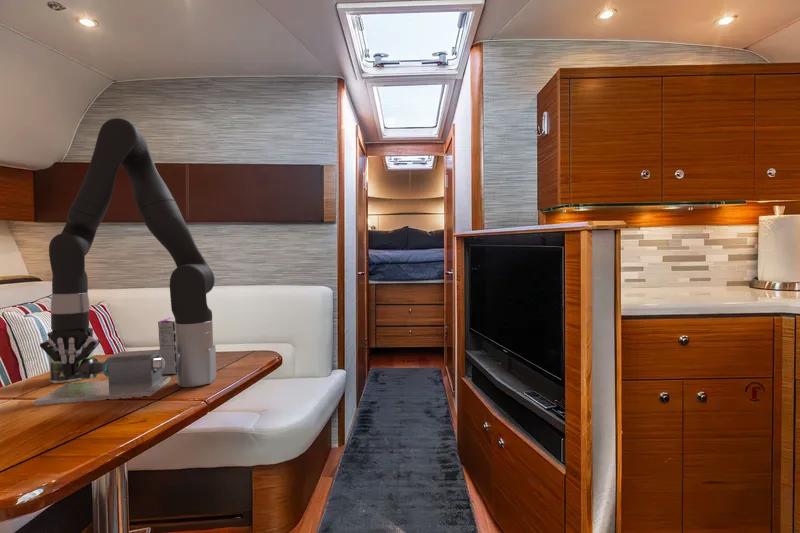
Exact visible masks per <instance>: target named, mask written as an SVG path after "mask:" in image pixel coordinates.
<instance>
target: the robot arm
mask: <svg viewBox="0 0 800 533" xmlns="http://www.w3.org/2000/svg"><path fill="white" fill-rule="evenodd" d="M147 142H148V141H147V140H146V138H145V137H144V135H143V134H142V133H141V131H140V130H139V129H138V128H137V127H136V126H135V125H134V124H133V123H131V121H129V120H127V119H124V118H117V117H116V118H115V117H114V118H111V119H108V120H106V121H105V122H104V123H103V124H102V125H101V127H100V129H99V132H98V134H97V138H96V142H95V146H94V150H93V153H92V155H91V160H90V162H89V165H88V168H87V171H86V174H85V177H84V179H83V181H82V183H81V186H80V188H79V189H78V191H77V193H76V196H75V198H74V200H73V201H72V203H71V206H70V208H69V209H68V212H67V215H66V218H67V219H66V220H67V221H66V223H65V225H64V227H63V228H62V229H63V230H62V232H61V233H58V234H56V235H55V236H54V237H52V239H51V240H50V242H49V244H48V245H49V247H48V256H49V263H50V264H49V265H50V268H51V272H52V274H51V275H52V277H51V278H52V279H51V280H52V281H51V292H52V293H51V294H52V295H51V298H50V328H51V329H50V330H51V332H52V333H51V335H50V339H48V338H47V340H45V341H43V342H41V343H39V347H40V348H41V349H42V350H43V351H44V352H45V353H46V354H47V355H48V357H49V356H50V357H51V358H52V359H53V360H54V361H55V362H57V361H59V362H62V363H63V375H64V376H65V378H73V377H75V376H76V375H77V374H78V373H79V361H81V360H83V359H85V358H87V357H88V356H89V355H90V354H91V353H92V351H93V352H94V351H95V349H96V348H97V347H98V346H99V344H101V340H100V339H99V338H97V339H95V338H94V337H93V338H92V337H91V334H90V332H89V328H90V300H89V293H88V290H89V288H88V287H89V286H88V285H89V284H88V283H89V282H88V281H89V280H88V274H87V272H86V267H85V266H86V264H85V261H86V260H85V259H86V258H85V256H87V255H88V252H90V249H91V248H92V245H93V242H94V239H95V237H96V234H97V230H98V228H99V226H100V225H101V222H102V221H103V220H104V217H105V216H106V213H107V211H108V209H109V207H110V204H111V201H112V197H113V192H114V186H115V182H116V177H117V175H118V172H119V168H120V167H121V166H122V168H123V169H124V172H125V173H126V175H127V176H128V179H129V181H130V184H131V189H132V193H133V198H134V201H135V204H136V208H137V210H138V212H139V214H140V216H141V218H142V220H143V221H144V224H145V226H146V227H147V229H148V230H149V232H150V233H151V234H152V235H153V236H154V238H155V239H156V240H157V241H158V242H159V243H160V244H161V245H162V246H163V247H164V248H165V249H166V250H167V252H168V253H169V254H170V256H171V257H172V260H173V261H174V263H175V266H176V268H175V269H174V270H173V271H172V273H171V275H170V279H169V296H170V298H169V299H170V308H171V312H172V314H173V316H174V317H175V333H176V361H177V374H176V382H177V386H178V387H182V388H194V387H199V386H204V385H209V384H212V383H213V382H214V381H215V379H217V357H216V355H217V354H216V353H217V352H216V351H217V350H216V345H215V344H214V332H213V331H214V330H213V328H214V327H213V311H212V309H210V307H209V306H208V301H207V294H209V292H211V291H212V290H213V288H214V286H215V281H216V280H215V275H214V272H213V270H212V269H211V267H210V265H209V263H208V262H207V261H206V259H205V258H204V255H203V254H202V253H201V251H200V250H199V248H198V246H197V245H196V242H195V241H194V240H195V239H194V238H193V236H192V233H191V231H190V230H189V228H188V226H187V223H186V220H185V219H184V217H183V215H182V212H181V211H180V208H179V206H178V204H177V202H176V200H175V198H174V197H173V194H172V193H171V191H170V189H169V188H168V185H167V184H166V182H165V181H164V180H163V178H162V177H161V175H160V174H159V171H158V169H157V168H156V164H155V161H154V159H153V157H152V154H151V151H150V149H149V144H148V143H147ZM86 342H87V343H86ZM85 343H86V346H87V347H86V348H85V349H84V350H83V351H82V347H83V345H84V344H85ZM55 345H56V346H57V347H58V348H59V349H58V348H57V347H56V346H55ZM81 351H82V353H81ZM80 353H81V354H80Z"/></svg>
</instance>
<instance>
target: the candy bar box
mask: <svg viewBox="0 0 800 533" xmlns="http://www.w3.org/2000/svg"><path fill="white" fill-rule="evenodd" d="M157 324H158V342H159V350H161V358H164V359H165V367H164V369H163V370H162V376H171V375H177V361H176V333H175V317H174V315H173V316H171V317H168V318H165V319H162V320H160V321H158V322H157Z"/></svg>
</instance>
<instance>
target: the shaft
mask: <svg viewBox="0 0 800 533" xmlns="http://www.w3.org/2000/svg"><path fill="white" fill-rule="evenodd" d="M108 358H109V357H107V358H106V359H105V361H104V360H103V361H99V360H98V359H97V358H96V357H94V358H89V359H84V360H82V362H81V363H80V366H79V376H80V378H81V379H83V380H90V379H94V378H97V375H104V376H105V377H106V378H108ZM164 367H165V359H164V358H153V370H163V369H164Z"/></svg>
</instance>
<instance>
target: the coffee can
mask: <svg viewBox="0 0 800 533" xmlns="http://www.w3.org/2000/svg"><path fill="white" fill-rule="evenodd" d="M89 332H90V334H91V337H92V338H94V333H93V332H94V329H93V328H92V327H89ZM51 333H52V331H50V332H48V333H47V334H46V335H47V337H48V338H47V340H48V339H50V335H51ZM86 343H87V342H86ZM86 343H85V344H84V345H83V347H82V351H83V350H84V349H85V348H86V347H87V346H86ZM55 346H56V345H55ZM56 347H57V346H56ZM57 348H58V347H57ZM58 349H59V348H58ZM82 351H81V353H82ZM81 353H80V354H81ZM89 358H95V357H94V350H93V351H92V353H91V354H90V355H89V356H88V357H87V358H85V359H89ZM48 360H49V362H48V363H49V366H48V368H49V382H50V383H51V384H65V383H66V384H68V383H74V382H78V381H79V382H80V381H82V380H84V379H81V378H80V376H79V373H78V374H77V375H76V376H75V377H73V378H65V376H64V375H63V363H62V362H59V361H57V362H55V361H54V360H53V359H52V358H51V357H50V356H49V355H48ZM83 360H84V359H83ZM81 362H82V360H81V361H79V366H80V363H81Z"/></svg>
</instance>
